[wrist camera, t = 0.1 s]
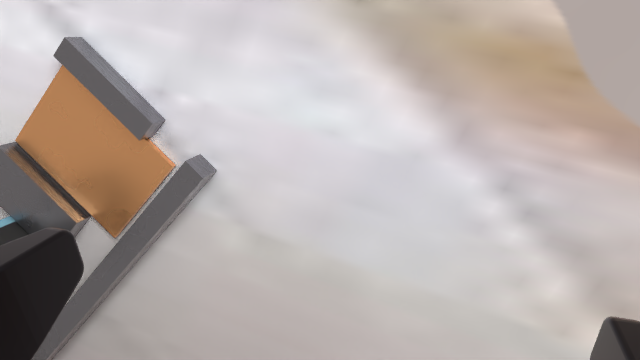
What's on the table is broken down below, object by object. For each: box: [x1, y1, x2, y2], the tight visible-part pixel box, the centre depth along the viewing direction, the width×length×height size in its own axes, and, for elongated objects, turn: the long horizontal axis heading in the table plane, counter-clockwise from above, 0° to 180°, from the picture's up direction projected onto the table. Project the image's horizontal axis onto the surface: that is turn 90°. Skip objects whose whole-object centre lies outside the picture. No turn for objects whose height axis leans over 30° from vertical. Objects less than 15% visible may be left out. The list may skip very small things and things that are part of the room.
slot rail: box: [0, 37, 217, 360], centre depth 28 cm, size 19×10×2 cm, turn 137°
